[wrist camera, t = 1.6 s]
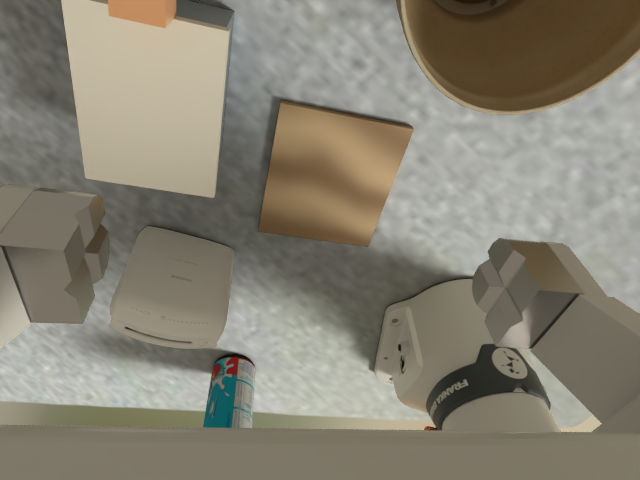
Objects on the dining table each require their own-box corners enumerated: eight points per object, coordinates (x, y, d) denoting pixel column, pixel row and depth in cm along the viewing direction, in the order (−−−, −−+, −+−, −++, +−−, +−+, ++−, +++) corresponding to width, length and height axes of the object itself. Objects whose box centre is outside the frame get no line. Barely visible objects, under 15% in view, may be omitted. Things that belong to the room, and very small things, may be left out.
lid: (217, 186, 35) (210, 214, 32) (93, 166, 34) (74, 194, 31) (237, -36, 26) (230, -26, 23) (64, -80, 24) (31, -75, 21)
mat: (367, 243, 47) (367, 246, 47) (258, 227, 45) (258, 231, 44) (412, 126, 38) (413, 129, 38) (280, 100, 36) (280, 103, 36)
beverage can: (216, 350, 58) (198, 465, 46) (259, 355, 59) (252, 469, 47) (210, 374, 61) (192, 487, 50) (251, 379, 63) (243, 490, 51)
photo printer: (240, 245, 46) (228, 338, 37) (229, 272, 49) (215, 365, 39) (142, 218, 43) (101, 311, 34) (135, 248, 46) (95, 343, 36)
